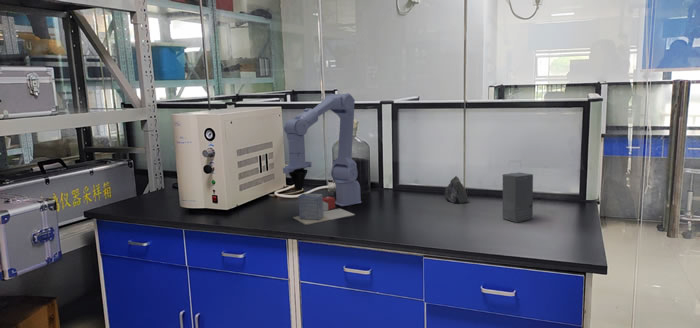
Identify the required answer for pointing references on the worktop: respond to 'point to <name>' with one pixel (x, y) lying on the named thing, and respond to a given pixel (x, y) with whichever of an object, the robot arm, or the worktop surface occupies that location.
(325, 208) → the button box
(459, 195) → the mineral rock
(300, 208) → the medicine box
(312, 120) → the robot arm
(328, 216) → the cream flat sheet
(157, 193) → the worktop surface
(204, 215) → the worktop surface
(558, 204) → the worktop surface
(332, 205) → the die
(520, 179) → the skincare box
